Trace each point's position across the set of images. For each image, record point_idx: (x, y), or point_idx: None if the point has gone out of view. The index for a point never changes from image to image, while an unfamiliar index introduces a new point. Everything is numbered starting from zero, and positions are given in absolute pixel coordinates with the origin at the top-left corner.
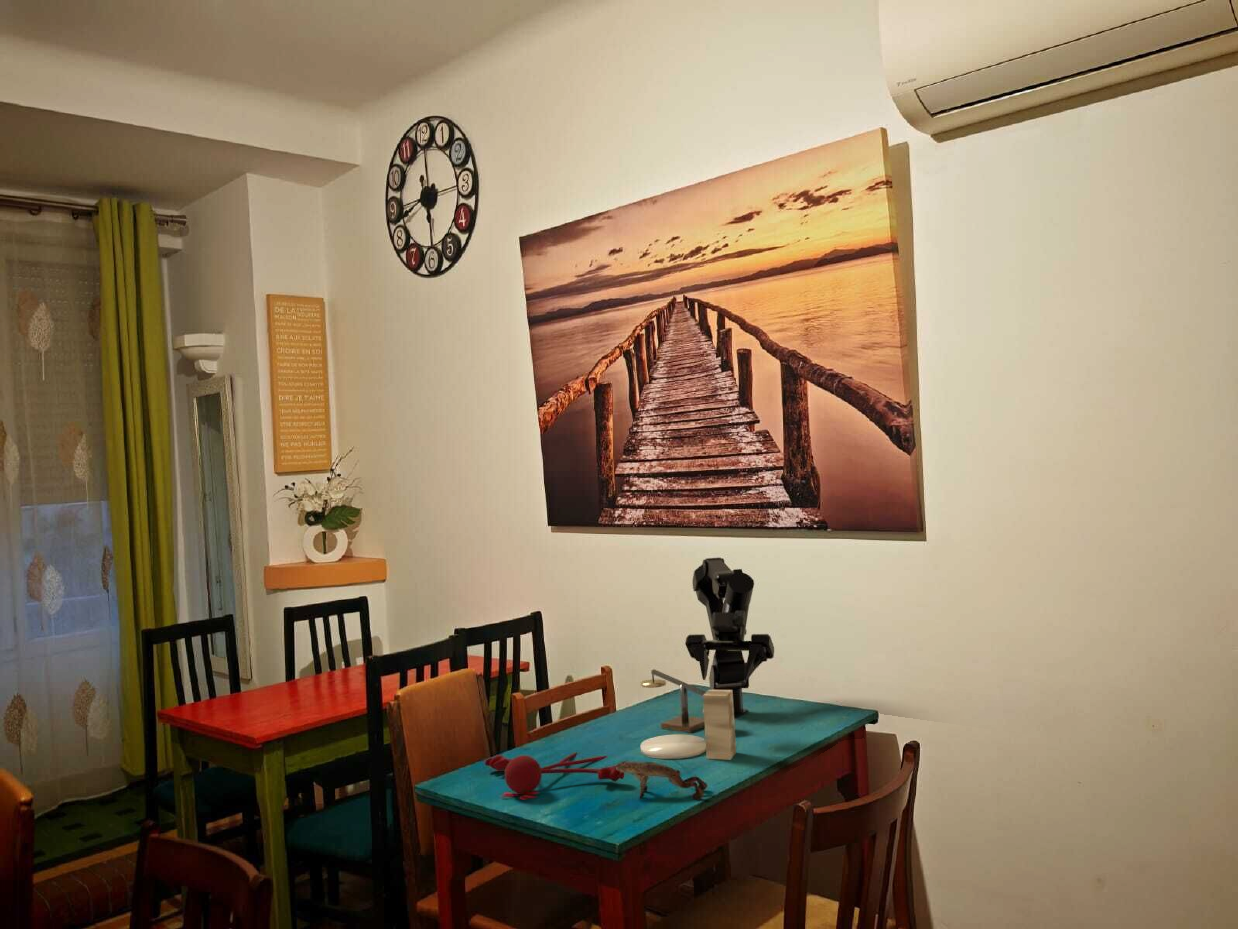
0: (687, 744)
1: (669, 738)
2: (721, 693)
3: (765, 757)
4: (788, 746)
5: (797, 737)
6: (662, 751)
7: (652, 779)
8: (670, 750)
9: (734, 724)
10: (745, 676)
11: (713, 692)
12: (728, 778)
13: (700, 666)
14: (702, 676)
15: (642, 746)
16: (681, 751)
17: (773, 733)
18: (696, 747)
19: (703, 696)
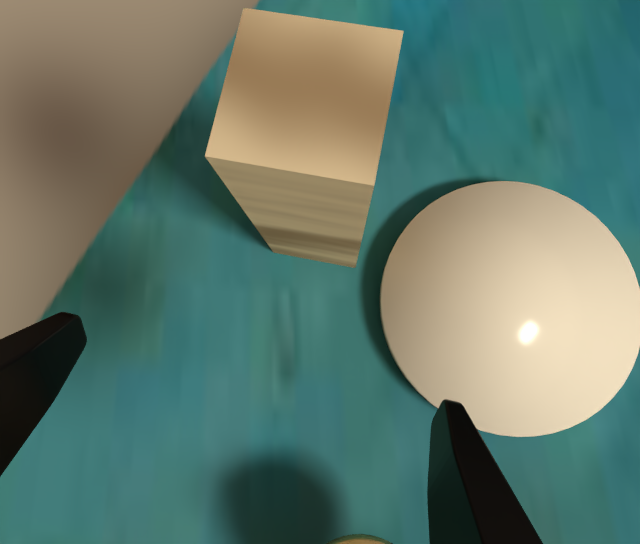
0: (452, 285)
1: (539, 377)
2: (279, 68)
3: (178, 197)
4: (93, 317)
5: (48, 433)
6: (533, 202)
7: (514, 2)
8: (506, 213)
9: (253, 223)
10: (58, 314)
11: (335, 99)
12: (292, 9)
13: (523, 510)
14: (461, 404)
15: (627, 270)
16: (462, 199)
17: (130, 501)
18: (413, 245)
19: (398, 36)
